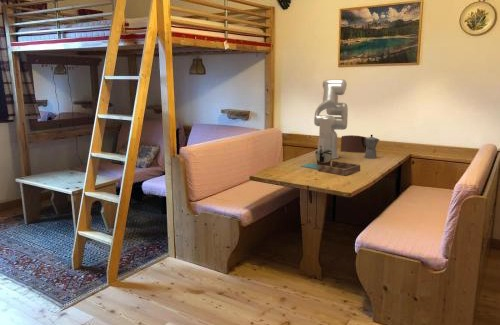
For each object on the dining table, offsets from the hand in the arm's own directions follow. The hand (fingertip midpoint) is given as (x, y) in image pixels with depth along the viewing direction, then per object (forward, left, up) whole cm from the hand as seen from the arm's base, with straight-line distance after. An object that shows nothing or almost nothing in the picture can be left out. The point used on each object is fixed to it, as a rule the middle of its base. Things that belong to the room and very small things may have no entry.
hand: (324, 160), depth 283 cm
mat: (-8, 0, -5) cm, 9 cm away
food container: (0, +1, -3) cm, 3 cm away
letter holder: (-16, +68, -6) cm, 71 cm away
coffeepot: (+7, +53, -6) cm, 53 cm away
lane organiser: (+12, 0, -5) cm, 13 cm away
